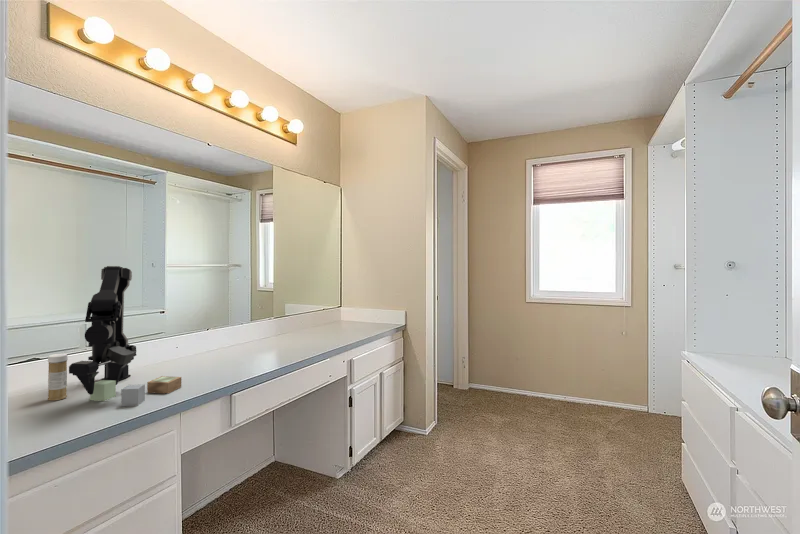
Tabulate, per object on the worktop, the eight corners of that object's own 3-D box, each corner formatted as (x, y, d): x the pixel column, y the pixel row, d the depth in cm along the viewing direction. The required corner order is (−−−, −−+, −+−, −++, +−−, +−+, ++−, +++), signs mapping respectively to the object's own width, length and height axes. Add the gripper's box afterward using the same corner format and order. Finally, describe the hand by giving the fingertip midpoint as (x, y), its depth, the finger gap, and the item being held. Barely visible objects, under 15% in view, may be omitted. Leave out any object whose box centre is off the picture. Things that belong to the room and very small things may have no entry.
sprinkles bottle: (54, 396, 126) (55, 353, 125) (70, 396, 126) (71, 353, 126) (43, 401, 121) (43, 356, 121) (59, 401, 121) (60, 356, 121)
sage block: (90, 400, 122) (90, 384, 122) (102, 395, 127) (102, 380, 127) (104, 401, 122) (104, 384, 122) (115, 396, 127) (115, 380, 127)
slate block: (121, 406, 118) (121, 389, 118) (128, 401, 123) (128, 384, 122) (138, 405, 119) (138, 388, 119) (144, 400, 123) (145, 384, 123)
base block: (147, 392, 130) (147, 381, 130) (161, 386, 137) (161, 375, 137) (168, 393, 130) (168, 382, 130) (181, 387, 137) (181, 376, 137)
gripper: (104, 345, 115) (103, 400, 115) (149, 334, 133) (149, 381, 133) (67, 344, 115) (66, 399, 116) (117, 333, 134) (117, 380, 134)
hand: (103, 389), depth 125 cm, fingers open, 9 cm apart
